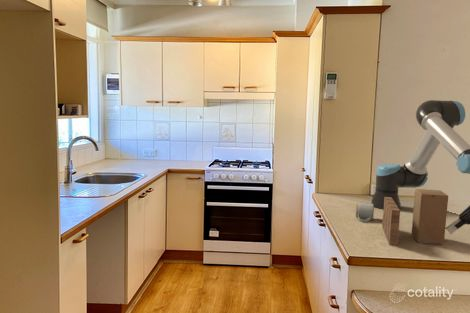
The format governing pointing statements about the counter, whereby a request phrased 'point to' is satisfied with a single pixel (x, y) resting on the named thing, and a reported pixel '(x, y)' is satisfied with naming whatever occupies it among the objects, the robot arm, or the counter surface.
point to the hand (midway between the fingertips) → (448, 231)
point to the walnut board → (391, 221)
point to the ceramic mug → (365, 212)
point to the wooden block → (429, 216)
